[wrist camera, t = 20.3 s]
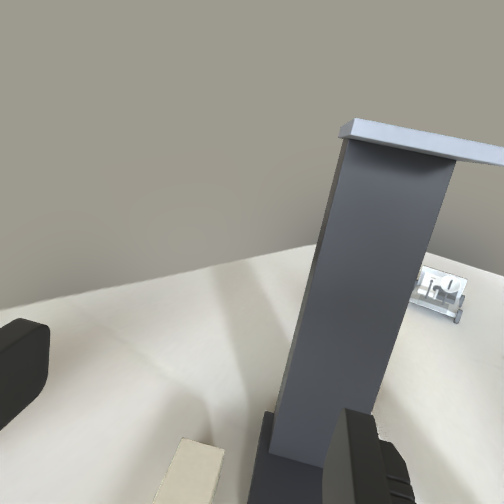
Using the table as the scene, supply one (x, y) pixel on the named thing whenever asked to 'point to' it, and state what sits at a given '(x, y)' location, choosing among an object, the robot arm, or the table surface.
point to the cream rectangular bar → (191, 474)
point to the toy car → (439, 292)
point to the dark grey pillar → (355, 294)
